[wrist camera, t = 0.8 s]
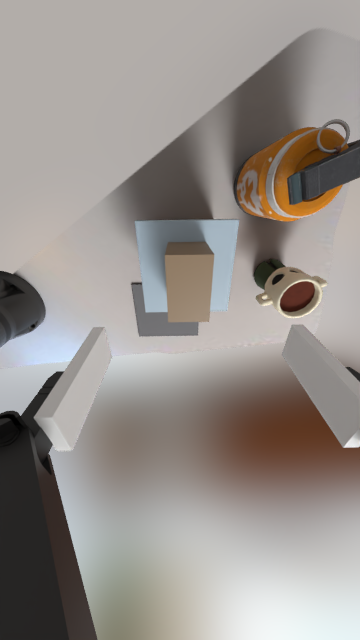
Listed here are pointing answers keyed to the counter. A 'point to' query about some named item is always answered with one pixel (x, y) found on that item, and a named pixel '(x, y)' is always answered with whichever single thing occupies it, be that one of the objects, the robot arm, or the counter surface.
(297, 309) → the character mug
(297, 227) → the counter surface
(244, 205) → the canister
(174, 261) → the lid
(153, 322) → the mat
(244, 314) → the counter surface
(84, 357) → the robot arm
